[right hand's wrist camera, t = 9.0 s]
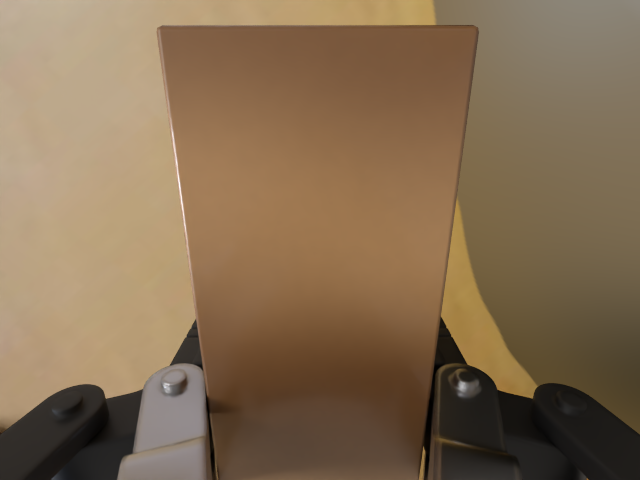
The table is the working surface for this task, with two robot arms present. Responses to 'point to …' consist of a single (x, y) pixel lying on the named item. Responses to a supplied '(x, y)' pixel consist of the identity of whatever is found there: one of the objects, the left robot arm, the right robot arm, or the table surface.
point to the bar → (318, 234)
